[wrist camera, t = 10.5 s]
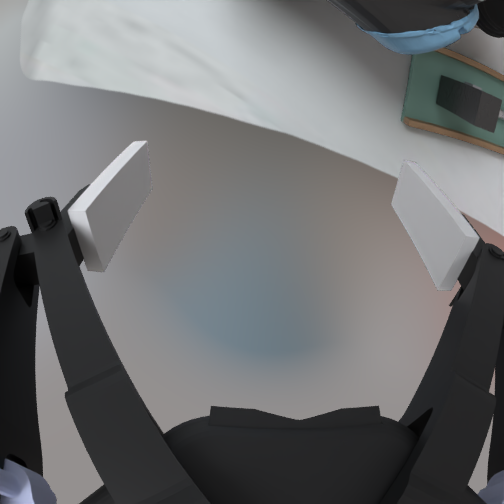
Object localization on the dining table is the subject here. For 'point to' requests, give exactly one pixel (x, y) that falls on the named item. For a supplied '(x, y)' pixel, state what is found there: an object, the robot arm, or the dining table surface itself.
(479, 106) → the striker rod
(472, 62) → the lane
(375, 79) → the dining table surface
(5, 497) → the robot arm
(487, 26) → the coffee cup
